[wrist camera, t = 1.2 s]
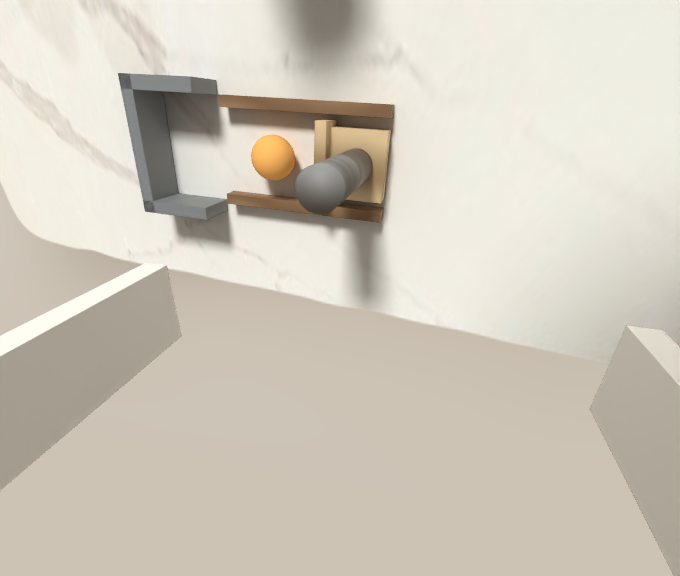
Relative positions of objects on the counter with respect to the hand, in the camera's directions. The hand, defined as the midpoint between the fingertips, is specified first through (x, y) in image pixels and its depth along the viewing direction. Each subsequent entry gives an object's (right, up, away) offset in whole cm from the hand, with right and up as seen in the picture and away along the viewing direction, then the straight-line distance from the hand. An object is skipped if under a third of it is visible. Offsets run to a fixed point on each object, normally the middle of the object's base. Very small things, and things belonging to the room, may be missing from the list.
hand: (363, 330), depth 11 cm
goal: (-16, +16, +26) cm, 35 cm away
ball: (-7, +13, +23) cm, 27 cm away
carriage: (+1, +13, +23) cm, 26 cm away
